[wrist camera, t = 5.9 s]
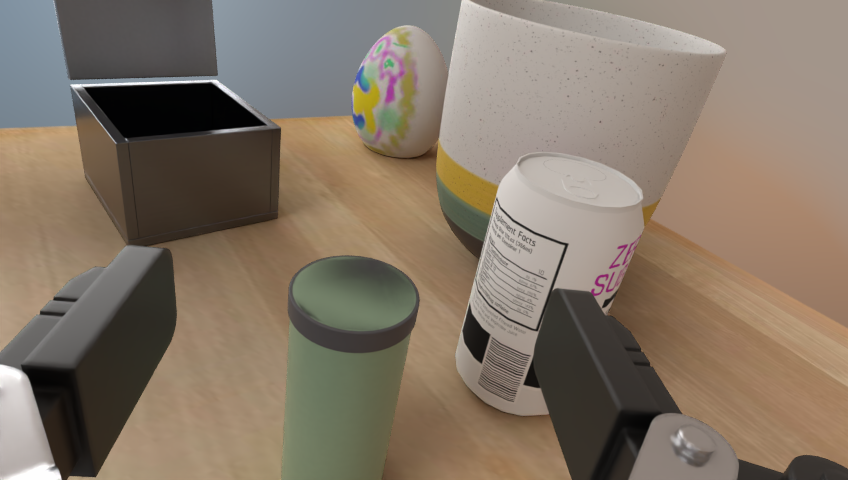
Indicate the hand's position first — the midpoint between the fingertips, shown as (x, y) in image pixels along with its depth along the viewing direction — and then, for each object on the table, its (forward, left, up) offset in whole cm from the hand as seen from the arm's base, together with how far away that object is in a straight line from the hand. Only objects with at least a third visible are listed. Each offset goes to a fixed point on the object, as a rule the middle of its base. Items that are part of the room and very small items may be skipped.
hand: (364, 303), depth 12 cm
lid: (-23, +42, -2) cm, 48 cm away
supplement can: (+10, +18, -19) cm, 28 cm away
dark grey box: (-19, +36, -18) cm, 44 cm away
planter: (+13, +34, -19) cm, 41 cm away
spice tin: (-1, +9, -18) cm, 20 cm away
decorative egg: (0, +58, -19) cm, 61 cm away
